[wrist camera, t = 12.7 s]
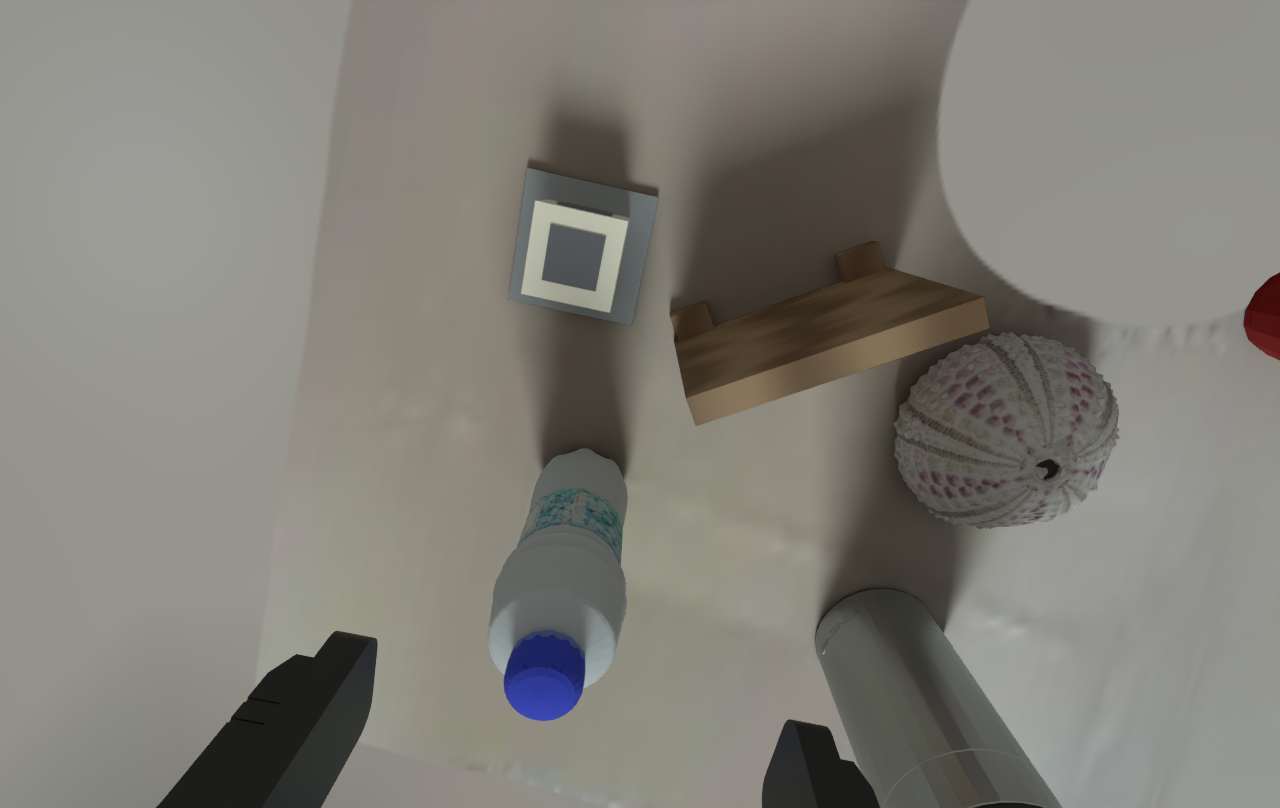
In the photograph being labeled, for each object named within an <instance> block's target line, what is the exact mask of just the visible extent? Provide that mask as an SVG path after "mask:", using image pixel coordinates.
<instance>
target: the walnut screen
mask: <svg viewBox="0 0 1280 808" xmlns="http://www.w3.org/2000/svg"><path fill="white" fill-rule="evenodd" d="M835 255H836V259H837V263H838V267H839V271H840V275H841V279H842V281H840V282H837V283H835V284H832V285H829V286H826V287H823V288H820V289H818V290H815V291H812V292H809V293H806V294H803V295H801V296H798V297H795V298H792V299H789V300H786V301H784V302H781V303H778V304H775V305H772V306H769V307H767V308H764V309H761V310H758V311H755V312H752V313H749V314H747V315H744V316H741V317H738V318H735V319H732V320H730V321H727V322H724V323H721V324H718V325H715V326H713V323H712V320H711V317H710V314H709V311H708V308H707V305H706V302H705V301H704V302H701V303H698V304H695V305H692V306H690V307H687V308H684V309H681V310H679V311H676V312H673V313H670V318H671V321H672V324H673V326H674V329H675V332H676V335H677V338H678V339H676V340H674V343H675V348H676V353H677V358H678V362H679V367H680V372H681V377H682V381H683V386H684V391H685V396H686V400H687V402H688V405H689V408H690V411H691V414H692V416H693V419H694V422H695V425H696V426H698V425H701V424H704V423H707V422H710V421H713V420H716V419H719V418H722V417H725V416H728V415H731V414H734V413H737V412H740V411H743V410H746V409H749V408H752V407H755V406H758V405H761V404H764V403H767V402H770V401H773V400H776V399H779V398H782V397H785V396H788V395H791V394H794V393H797V392H800V391H803V390H806V389H809V388H812V387H815V386H818V385H821V384H824V383H827V382H830V381H833V380H836V379H839V378H842V377H845V376H848V375H851V374H854V373H857V372H860V371H863V370H866V369H869V368H872V367H875V366H878V365H881V364H884V363H887V362H890V361H893V360H896V359H899V358H902V357H905V356H908V355H911V354H914V353H917V352H920V351H923V350H926V349H929V348H932V347H935V346H938V345H941V344H944V343H947V342H950V341H953V340H956V339H959V338H962V337H965V336H968V335H971V334H974V333H977V332H980V331H983V330H986V329H989V328H990V327H989V322H988V316H987V311H986V305H985V299H984V297H982V296H979V295H976V294H973V293H969V292H966V291H963V290H960V289H956V288H953V287H950V286H947V285H943V284H940V283H937V282H934V281H930V280H927V279H924V278H921V277H917V276H914V275H911V274H908V273H904V272H901V271H898V270H895V269H891V268H888V267H885V266H884V263H883V258H882V254H881V250H880V245H879V242H876V241H871V242H869V243H866V244H863V245H860V246H857V247H855V248H852V249H849V250H846V251H843V252H841V253H838V254H835Z"/></svg>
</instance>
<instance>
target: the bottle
mask: <svg viewBox="0 0 1280 808" xmlns="http://www.w3.org/2000/svg"><path fill="white" fill-rule="evenodd" d="M627 498H628V497H627V489H626V485H625V481H624V479H623V476H622V474H621V472H620V469H619V467H618V466H617V464H616V463H615V462H614V461H613V460H611V459H606V458H604V457H602V456H600V455H598V454H596V453H594V452H593V451H592V450H591V449H589V448H582V449H579V450H576V451H574V452H571V453H568V454H564V455H558V456H556V457H554V458H553V459H552V460H551V461H550V462H549V463H548V464H547V465H546V467H545V468H544V470H543V471H542V473H541V474H540V476H539V478H538V480H537V482H536V485H535V489H534V493H533V497H532V501H531V506H530V512H529V515H528V517H527V520H526V523H525V526H524V529H523V531H522V534H521V537H520V540H519V543H518V546H517V548H516V549H515V550H514V551H513V552H512V553H511V555H510V556H509V557H508V558H507V560H506V562H505V564H504V566H503V568H502V571H501V573H500V575H499V577H498V579H497V581H496V584H495V587H494V591H493V604H492V611H491V617H490V624H489V630H488V647H489V650H490V654H491V657H492V659H493V661H494V663H495V664H496V666H497V668H498V669H499V670H500V671H501V672H502V673H503V674H504V691H505V694H506V696H507V699H508V701H509V702H510V704H511V705H512V707H513V708H514V709H515V710H516V711H517V712H519V713H520V714H521V715H523V716H525V717H527V718H530V719H533V720H540V721H547V720H553V719H556V718H559V717H561V716H563V715H565V714H566V713H568V712H569V711H570V710H572V709H573V707H574V706H575V705H576V704H577V702H578V700H579V698H580V696H581V694H582V691H583V689H584V688H586V687H588V686H590V685H591V684H593V683H594V682H595V681H597V680H598V679H599V678H600V677H601V676H602V675H603V674H604V673H605V672H606V671H607V669H608V668H609V666H610V665H611V663H612V661H613V658H614V655H615V651H616V647H617V643H618V639H619V635H620V631H621V626H622V623H623V620H624V617H625V614H626V606H627V600H626V582H625V577H624V573H623V570H622V568H621V551H622V534H623V531H622V530H623V525H624V520H625V515H626V510H627Z"/></svg>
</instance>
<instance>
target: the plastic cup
mask: <svg viewBox="0 0 1280 808" xmlns="http://www.w3.org/2000/svg"><path fill="white" fill-rule="evenodd" d="M1244 328H1245V331H1246V334H1247V337H1248V340H1249V341H1251V342H1252V343H1253V344H1254V345H1255V346H1256V347H1257V348H1259V349H1260V350H1262V351H1263V352H1265V353H1266V354H1267V355H1269V356H1271V357H1274V358H1276V359H1278V360H1280V273H1278V274H1276V275H1274V276H1272V277H1271V278H1269V279H1268V280H1267V281H1266V282H1265V283H1264V284H1263V285H1262V286H1261V287H1260V288H1259V289H1258V290H1257V291H1256V292H1255V294H1254V296H1253V297H1252V299H1251V301H1250V303H1249V305H1248V307H1247V309H1246V314H1245V321H1244Z"/></svg>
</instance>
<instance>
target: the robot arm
mask: <svg viewBox="0 0 1280 808" xmlns="http://www.w3.org/2000/svg"><path fill="white" fill-rule="evenodd" d="M815 645H816V653H817V655H818V658H819V661H820V663H821V666H822V669H823V671H824V674H825V677H826V679H827V682H828V685H829V688H830V690H831V693H832V696H833V699H834V702H835V704H836V707H837V710H838V712H839V715H840V718H841V720H842V723H843V726H844V728H845V731H846V734H847V736H848V739H849V742H850V744H851V747H852V749H853V752H854V755H855V757H856V760H857V763H858V765H859V768H860V770H859V769H858V767H857V766H856V765H855V763H854V762H852V761H847V760H841V759H840V757H839V754H838V751H837V748H836V745H835V742H834V739H833V736H832V733H831V731H830V730H829V728H828V727H826V726H821V725H816V724H811V723H806V722H801V721H795V720H787V721H786V723H785V724H784V727H783V729H782V732H781V734H780V737H779V740H778V743H777V745H776V748H775V751H774V753H773V756H772V759H771V761H770V764H769V767H768V769H767V772H766V775H765V778H764V783H763V790H762V808H1062V806H1061V805H1060V803H1059V802H1058V800H1057V799H1056V797H1055V796H1054V794H1053V793H1052V792H1051V790H1050V789H1049V787H1048V786H1047V784H1046V783H1045V781H1044V780H1043V778H1042V777H1041V776H1040V774H1039V773H1038V771H1037V770H1036V769H1035V767H1034V766H1033V764H1032V763H1031V761H1030V760H1029V758H1028V757H1027V755H1026V754H1025V752H1024V751H1023V749H1022V748H1021V746H1020V745H1019V744H1018V742H1017V741H1016V739H1015V738H1014V736H1013V735H1012V733H1011V732H1010V730H1009V729H1008V727H1007V726H1006V724H1005V723H1004V722H1003V720H1002V719H1001V717H1000V716H999V714H998V713H997V711H996V710H995V708H994V707H993V705H992V704H991V702H990V701H989V700H988V698H987V697H986V695H985V694H984V692H983V691H982V689H981V688H980V686H979V685H978V683H977V682H976V680H975V679H974V677H973V676H972V675H971V673H970V672H969V670H968V669H967V667H966V666H965V664H964V663H963V661H962V660H961V658H960V657H959V655H958V654H957V653H956V651H955V650H954V648H953V646H952V645H951V643H950V642H949V640H948V639H947V638H946V636H945V635H944V633H943V632H942V630H941V629H940V627H939V626H938V625H937V623H936V622H935V620H934V619H933V617H932V616H931V614H930V613H929V611H928V610H927V608H926V607H925V606H924V605H923V604H922V603H921V602H920V601H919V600H918V599H916V598H914V597H912V596H911V595H909V594H907V593H904V592H901V591H897V590H891V589H871V590H867V591H862V592H858V593H856V594H854V595H851V596H849V597H847V598H845V599H843V600H842V601H840V602H839V603H837V604H836V605H835V606H834V607H833V608H832V609H831V610H830V611H829V612H828V613H827V614H826V615H825V617H824V618H823V620H822V621H821V623H820V625H819V628H818V630H817V633H816V640H815ZM376 656H377V639H376V638H372V637H367V636H362V635H356V634H351V633H346V632H341V631H335V632H334V633H333V634H332V635H331V636H330V637H329V638H328V639H327V641H326V642H325V643H324V645H323V646H322V647H321V649H320V650H319V651H318V653H317V654H316V655H315V657H314V658H313V657H308V656H303V655H298V654H296V655H295V656H293V657H291V658H290V659H288V660H287V661H285V662H284V663H282V664H281V665H279V666H278V667H276V668H275V669H273V670H271V671H270V672H268V673H267V675H266V676H265V677H264V678H263V679H262V681H261V682H260V683H259V684H258V686H257V687H256V688H255V689H254V690H253V692H252V693H251V694H250V695H249V697H248V699H247V701H246V702H244V703H243V704H242V705H241V706H240V707H239V709H238V710H237V711H236V712H235V714H234V715H233V716H232V717H231V720H230V722H229V723H228V722H227V723H226V724H225V726H224V727H223V728H222V729H221V730H220V732H219V733H218V734H217V736H215V738H214V739H213V740H212V741H211V743H210V744H209V745H208V746H207V747H206V749H205V750H204V751H203V752H202V753H201V755H200V756H199V757H198V758H197V760H196V761H195V762H194V763H193V764H192V766H191V767H190V768H189V769H188V770H187V772H186V773H185V774H184V775H183V776H182V778H181V779H180V780H179V781H178V783H177V784H176V785H175V786H174V787H173V789H172V790H171V791H170V792H169V793H168V795H167V796H166V797H165V798H164V799H163V801H162V802H161V803H160V804H159V805H158V806H157V807H156V808H321V806H322V804H323V803H324V801H325V799H326V797H327V795H328V794H329V792H330V790H331V788H332V786H333V785H334V782H335V781H336V779H337V777H338V775H339V774H340V772H341V770H342V768H343V766H344V765H345V763H346V761H347V759H348V757H349V756H350V754H351V752H352V750H353V748H354V747H355V745H356V743H357V741H358V739H359V737H360V735H361V733H362V731H363V729H364V726H365V724H366V721H367V718H368V715H369V712H370V708H371V703H372V695H373V685H374V676H375V666H376Z"/></svg>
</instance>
